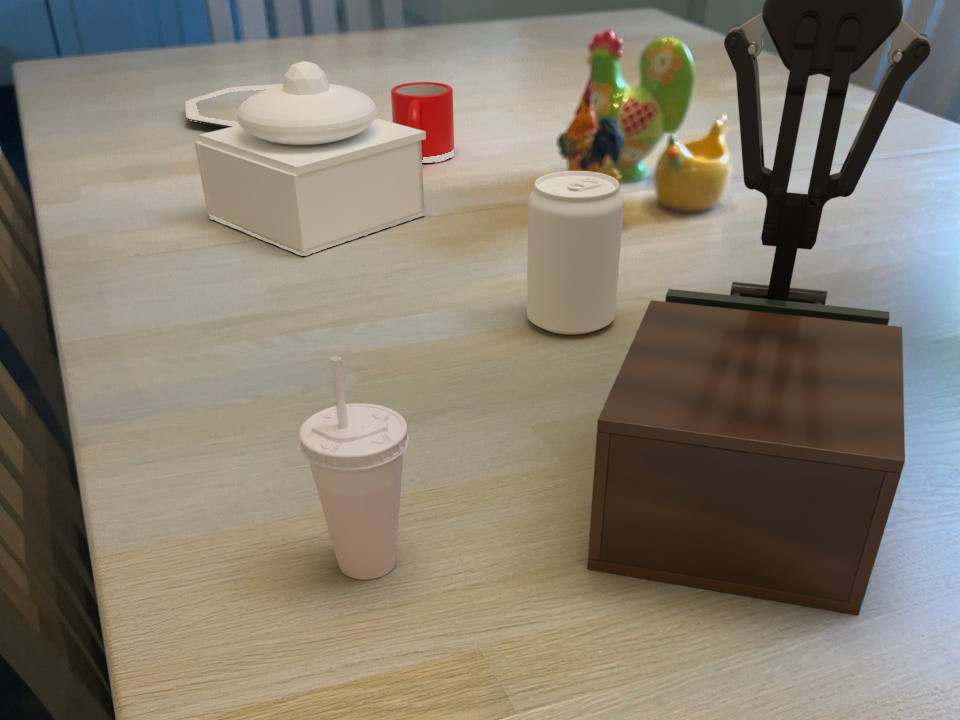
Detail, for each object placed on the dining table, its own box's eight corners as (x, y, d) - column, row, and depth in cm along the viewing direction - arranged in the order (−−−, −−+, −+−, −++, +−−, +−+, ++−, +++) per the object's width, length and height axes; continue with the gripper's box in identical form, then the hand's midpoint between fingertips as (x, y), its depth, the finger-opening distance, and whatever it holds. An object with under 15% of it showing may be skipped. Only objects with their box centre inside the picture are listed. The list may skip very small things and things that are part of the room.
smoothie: (320, 536, 67) (291, 335, 58) (416, 531, 68) (403, 331, 58) (314, 595, 63) (283, 387, 53) (418, 590, 63) (404, 382, 54)
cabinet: (637, 435, 77) (650, 299, 70) (864, 467, 73) (902, 326, 66) (586, 569, 64) (597, 419, 57) (858, 615, 60) (905, 460, 53)
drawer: (667, 366, 84) (680, 260, 78) (861, 390, 80) (889, 280, 74) (614, 510, 68) (625, 390, 62) (854, 548, 64) (889, 423, 58)
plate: (277, 144, 138) (276, 132, 137) (152, 122, 147) (150, 111, 146) (379, 106, 153) (379, 95, 152) (260, 88, 162) (259, 77, 161)
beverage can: (508, 319, 93) (509, 182, 86) (571, 295, 97) (577, 163, 89) (569, 347, 89) (575, 205, 81) (633, 321, 93) (645, 184, 85)
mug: (386, 173, 127) (381, 104, 122) (399, 146, 136) (395, 81, 131) (448, 174, 127) (446, 105, 122) (457, 147, 136) (455, 81, 131)
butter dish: (208, 219, 115) (179, 61, 105) (332, 183, 125) (316, 35, 114) (303, 258, 106) (282, 89, 95) (429, 215, 115) (422, 57, 105)
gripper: (966, -106, 61) (870, 280, 77) (747, -110, 64) (697, 263, 79) (974, -94, 56) (869, 319, 71) (735, -99, 59) (683, 299, 74)
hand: (778, 289), depth 75 cm, fingers closed
